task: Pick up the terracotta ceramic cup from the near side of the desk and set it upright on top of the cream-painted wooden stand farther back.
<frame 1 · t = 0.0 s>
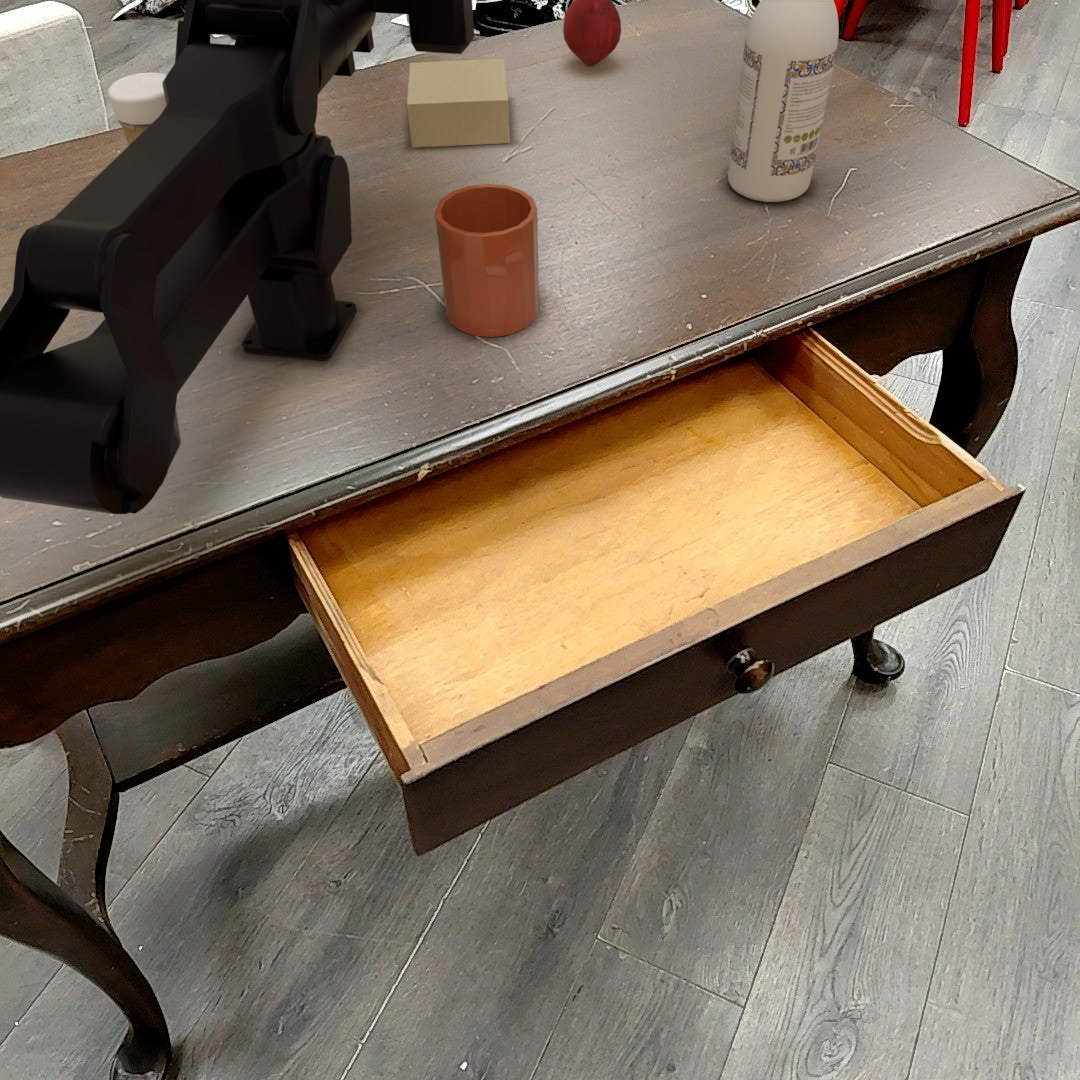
cup: (492, 309, 71), on the table
sprinkles bottle: (196, 258, 77), on the table
onion: (591, 67, 100), on the table
stand: (460, 123, 92), on the table
bath foam: (767, 186, 83), on the table
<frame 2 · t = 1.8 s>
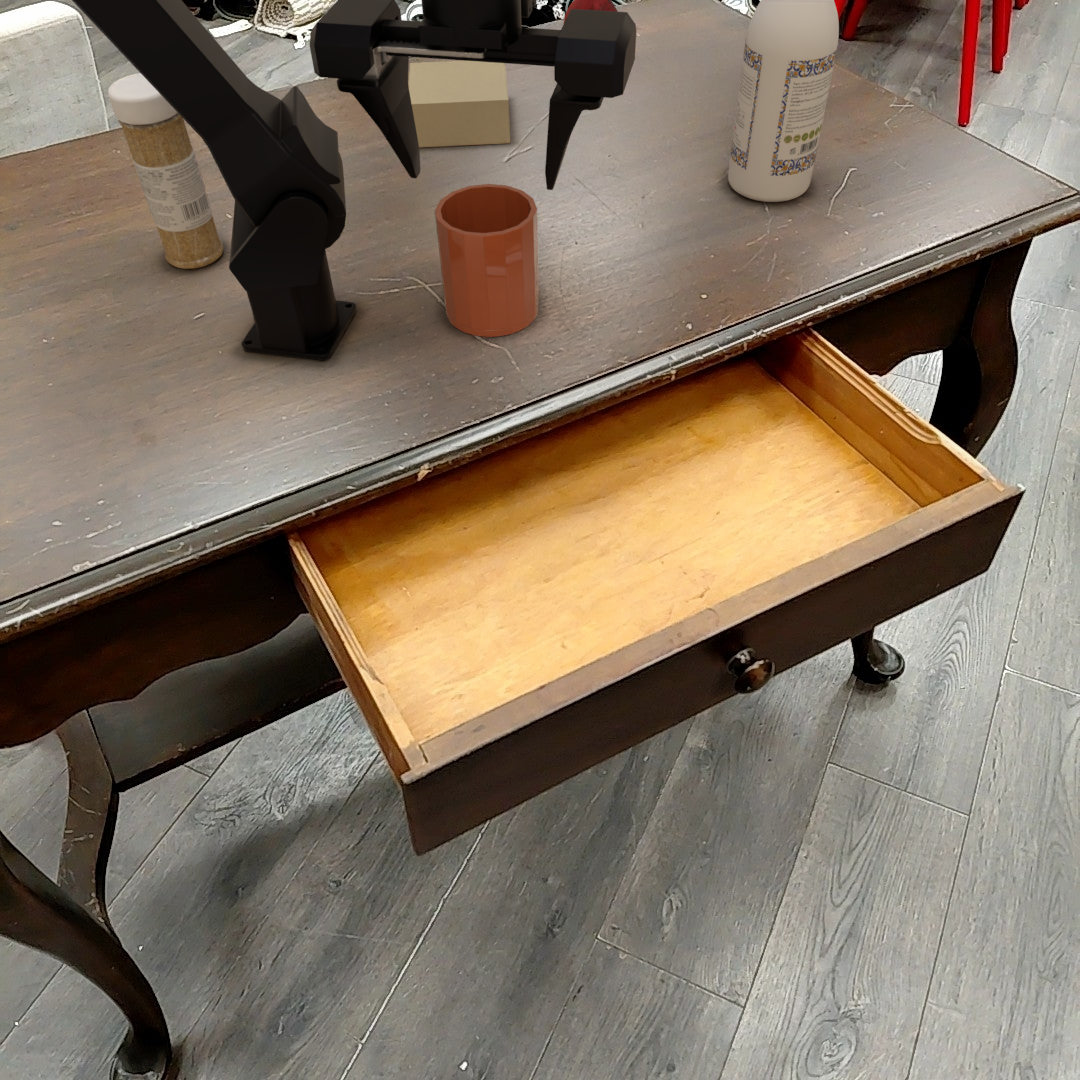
hand: (482, 181, 64), 10 cm above the table, tool pointing down, fingers open, 9 cm apart
nothing on the table moved.
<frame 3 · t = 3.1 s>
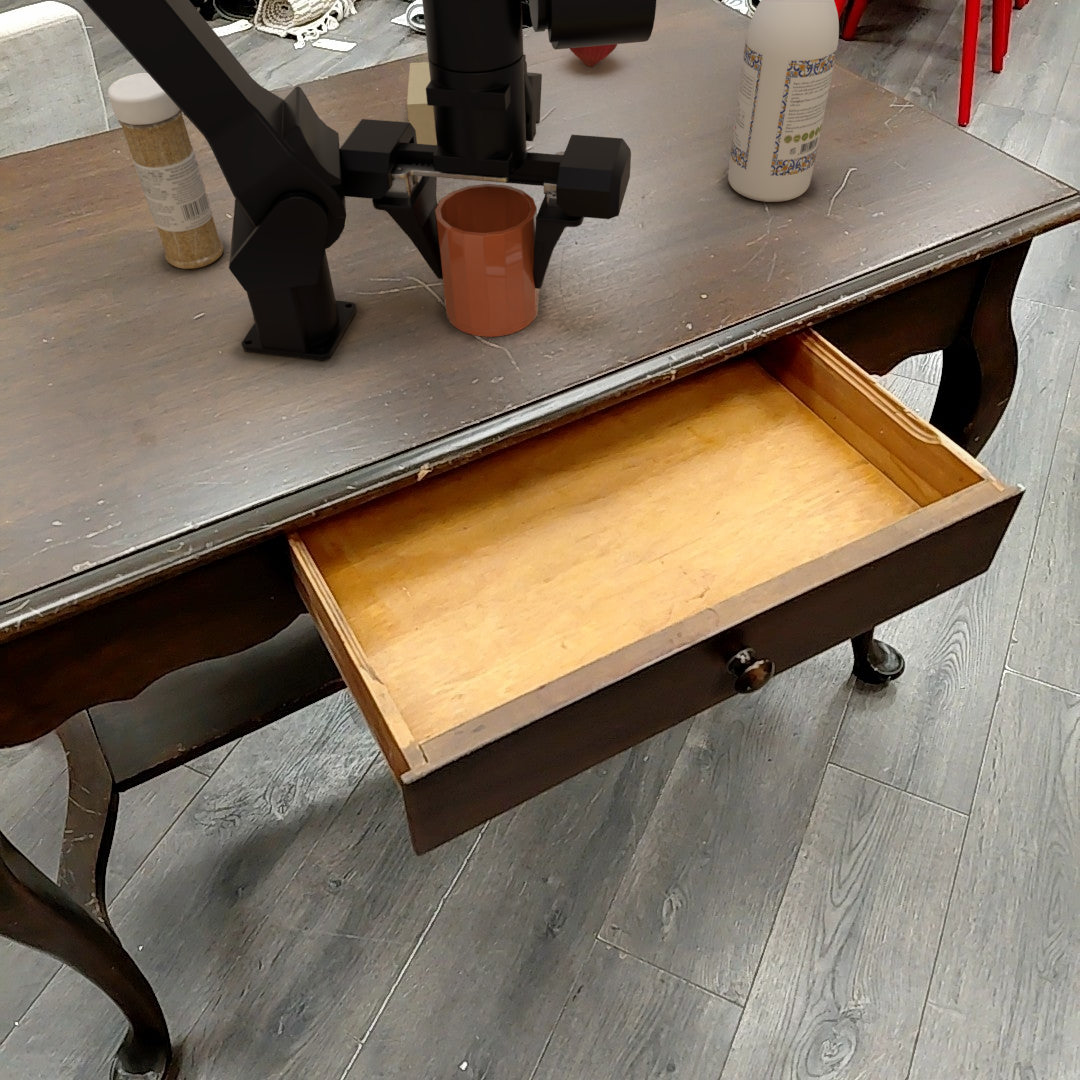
hand: (490, 280, 69), 2 cm above the table, tool pointing down, fingers closed on cup, 7 cm apart
cup: (492, 309, 71), on the table, touching gripper
everything else where it was.
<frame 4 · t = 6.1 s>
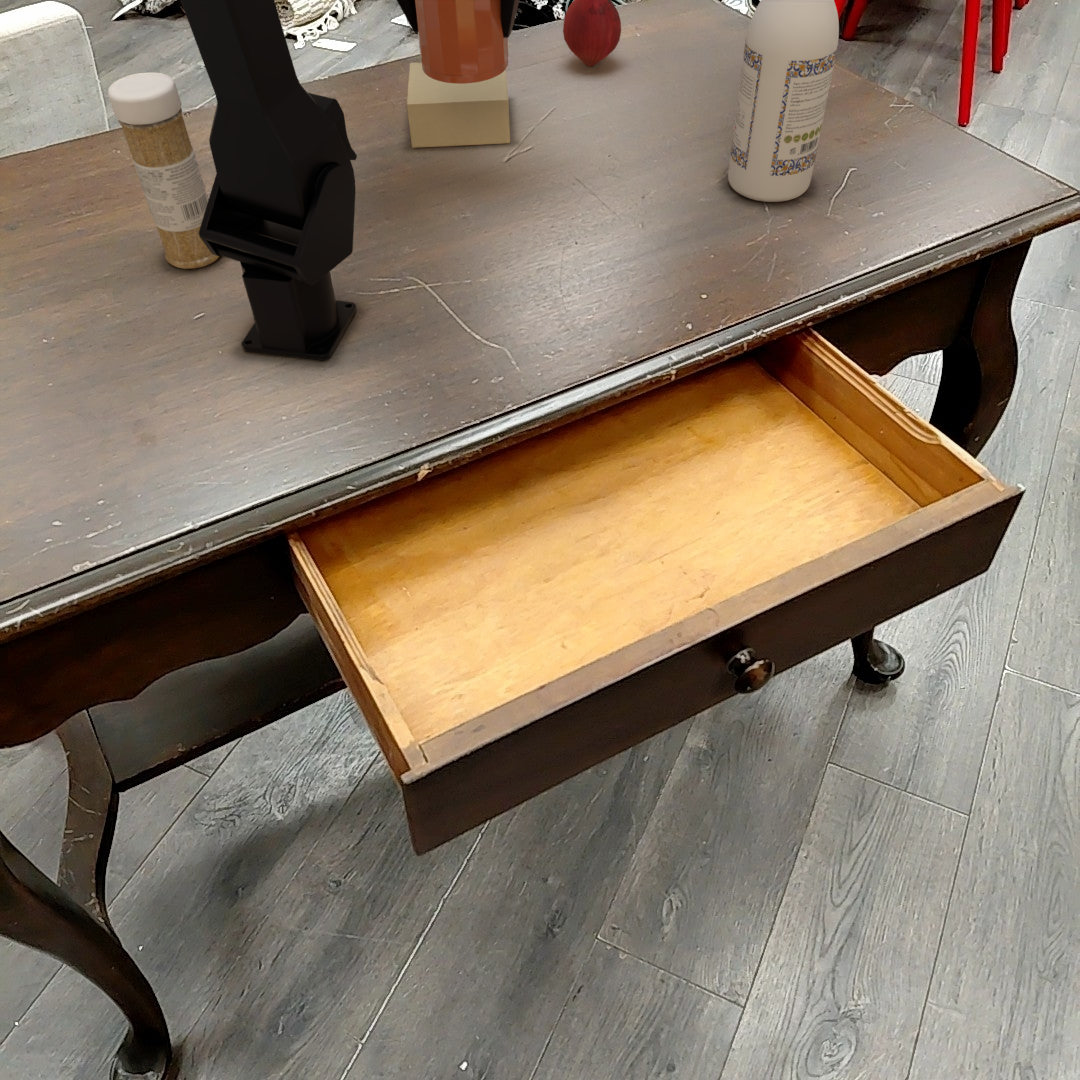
hand: (462, 32, 75), 12 cm above the table, tool pointing down, fingers closed on cup, 7 cm apart
cup: (465, 65, 77), point 10 cm above the table, touching gripper
everything else where it was.
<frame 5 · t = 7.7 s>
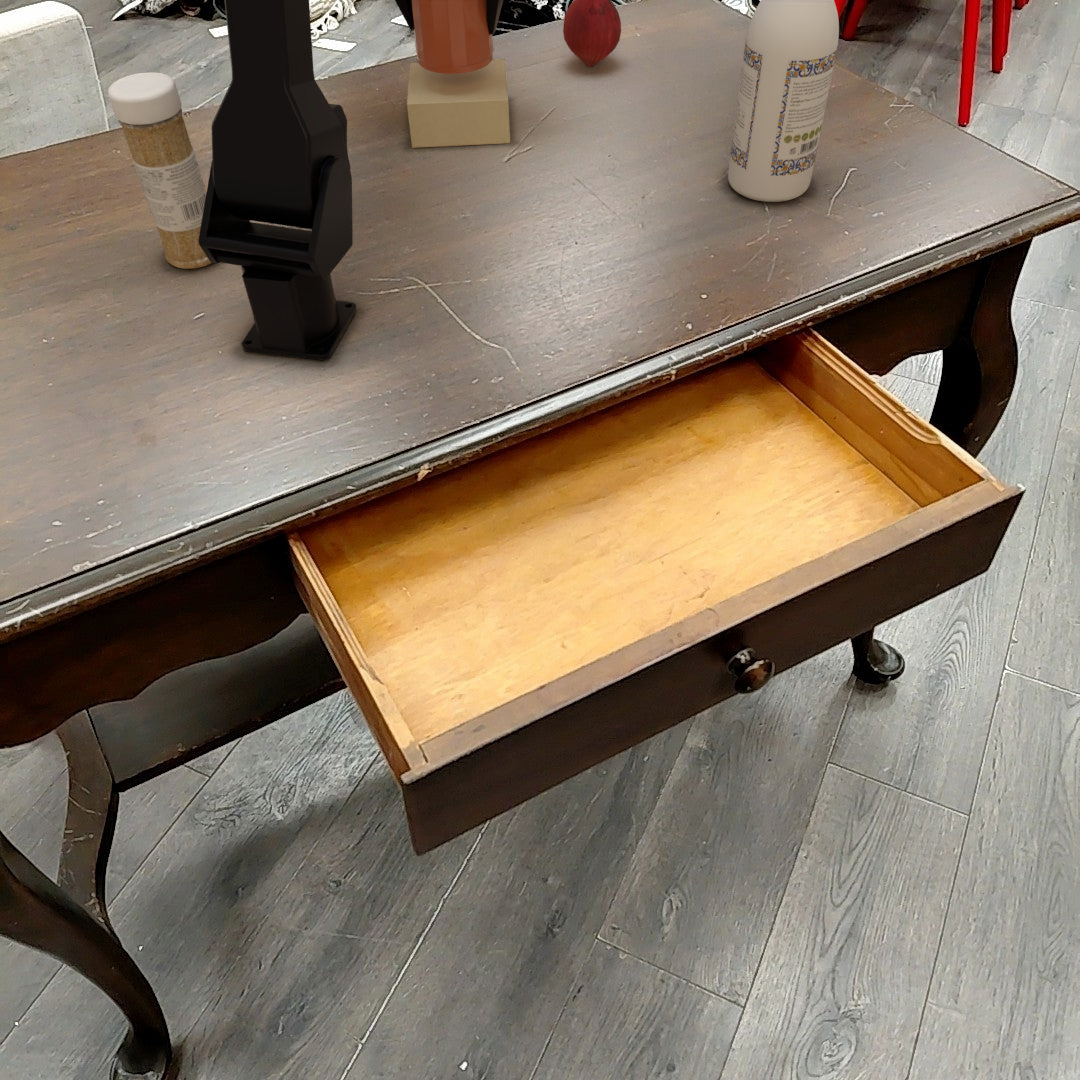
hand: (453, 30, 85), 8 cm above the table, tool pointing down, fingers closed on cup, 7 cm apart
cup: (455, 58, 87), point 6 cm above the table, touching gripper
everything else where it was.
when the fingers open (6 cm above the table, at t = 8.9 s): cup stays where it is, resting on stand.
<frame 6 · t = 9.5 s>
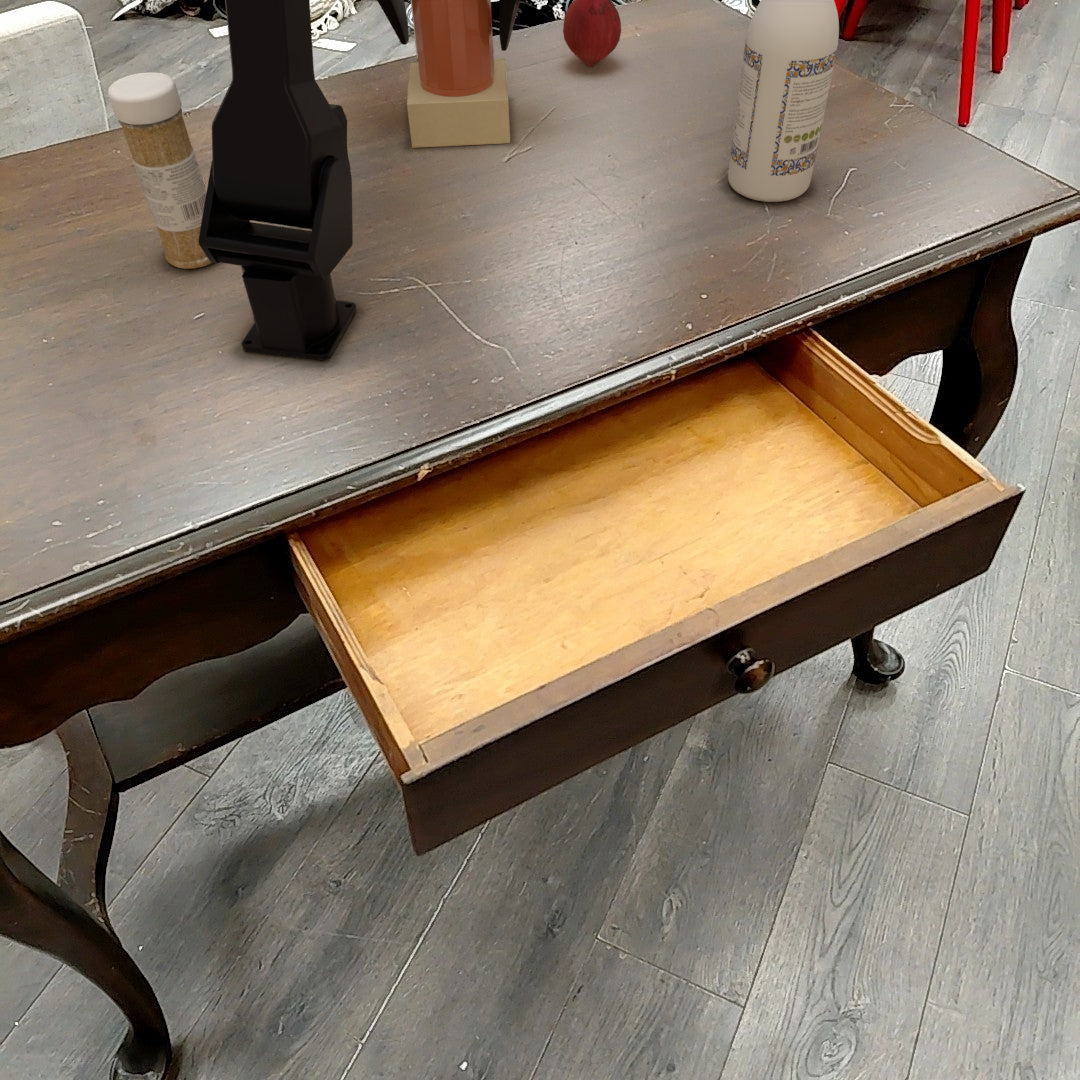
hand: (454, 45, 86), 7 cm above the table, tool pointing down, fingers open, 9 cm apart
cup: (457, 80, 89), point 4 cm above the table, touching stand
everything else where it was.
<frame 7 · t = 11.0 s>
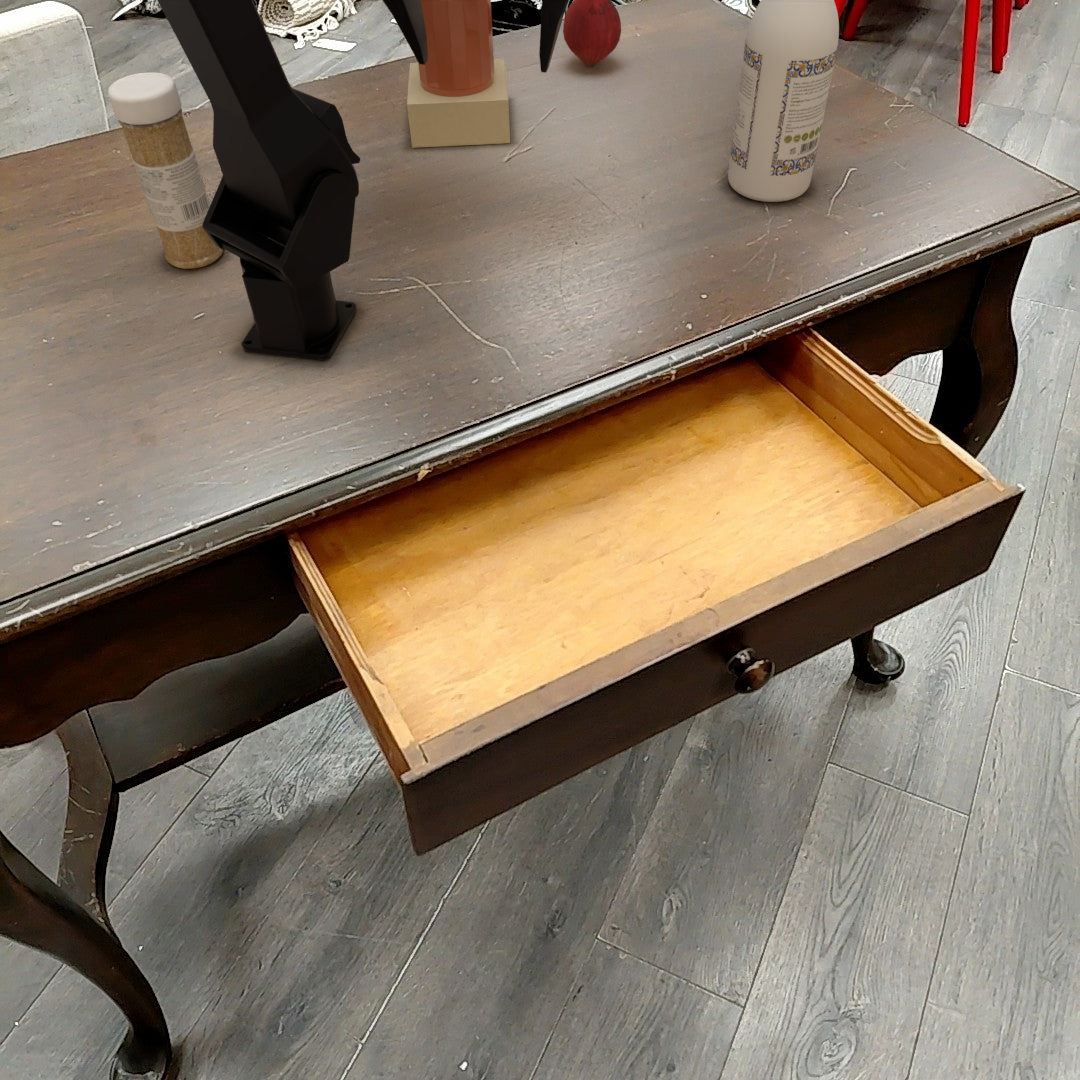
hand: (483, 66, 71), 12 cm above the table, tool pointing down, fingers open, 9 cm apart
nothing on the table moved.
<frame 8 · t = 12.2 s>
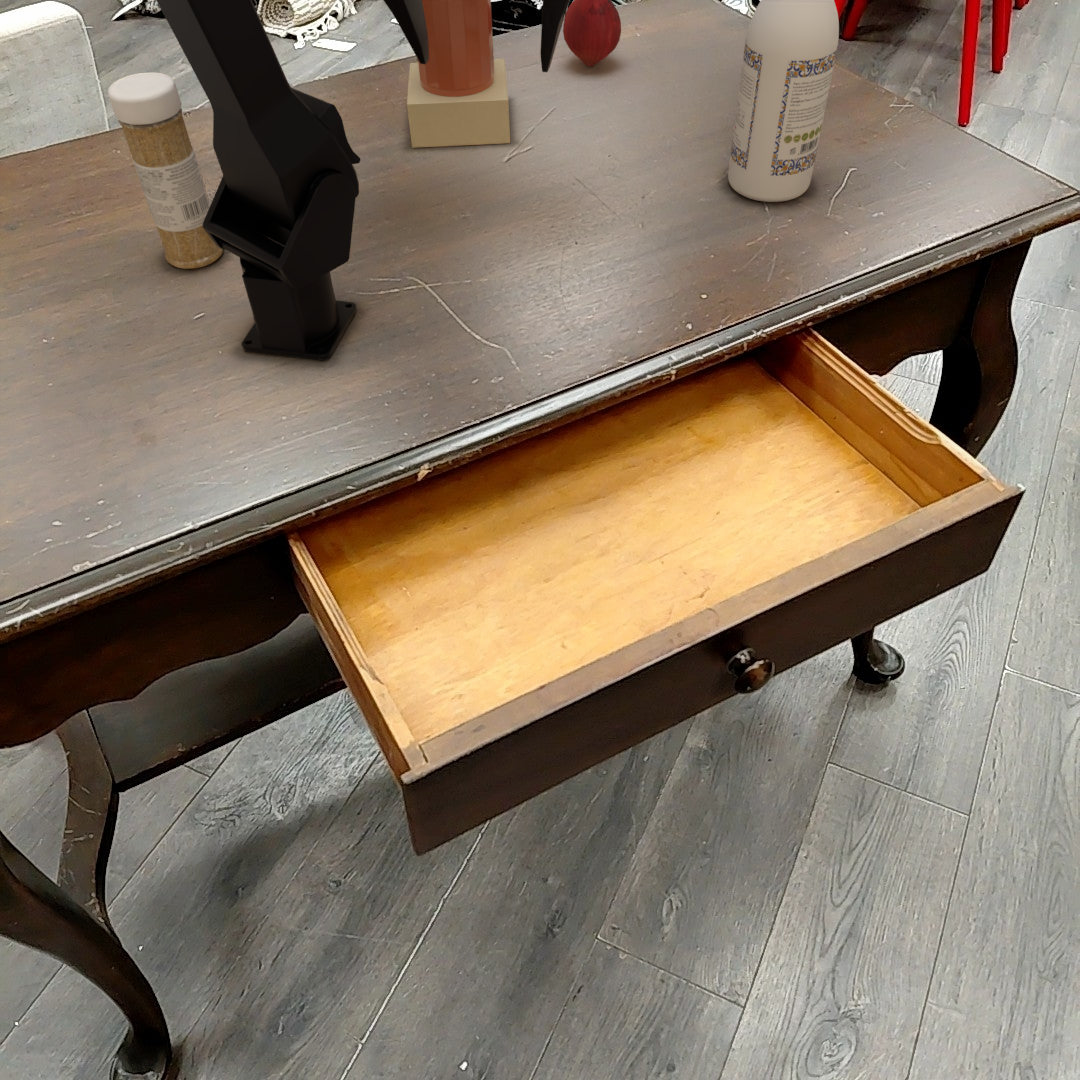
hand: (484, 66, 71), 12 cm above the table, tool pointing down, fingers open, 9 cm apart
nothing on the table moved.
at the end: cup inside the target area on the stand (0.1 cm from its centre), point 4.0 cm above the stand's base; cup tilted 0°; the gripper is holding nothing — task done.
